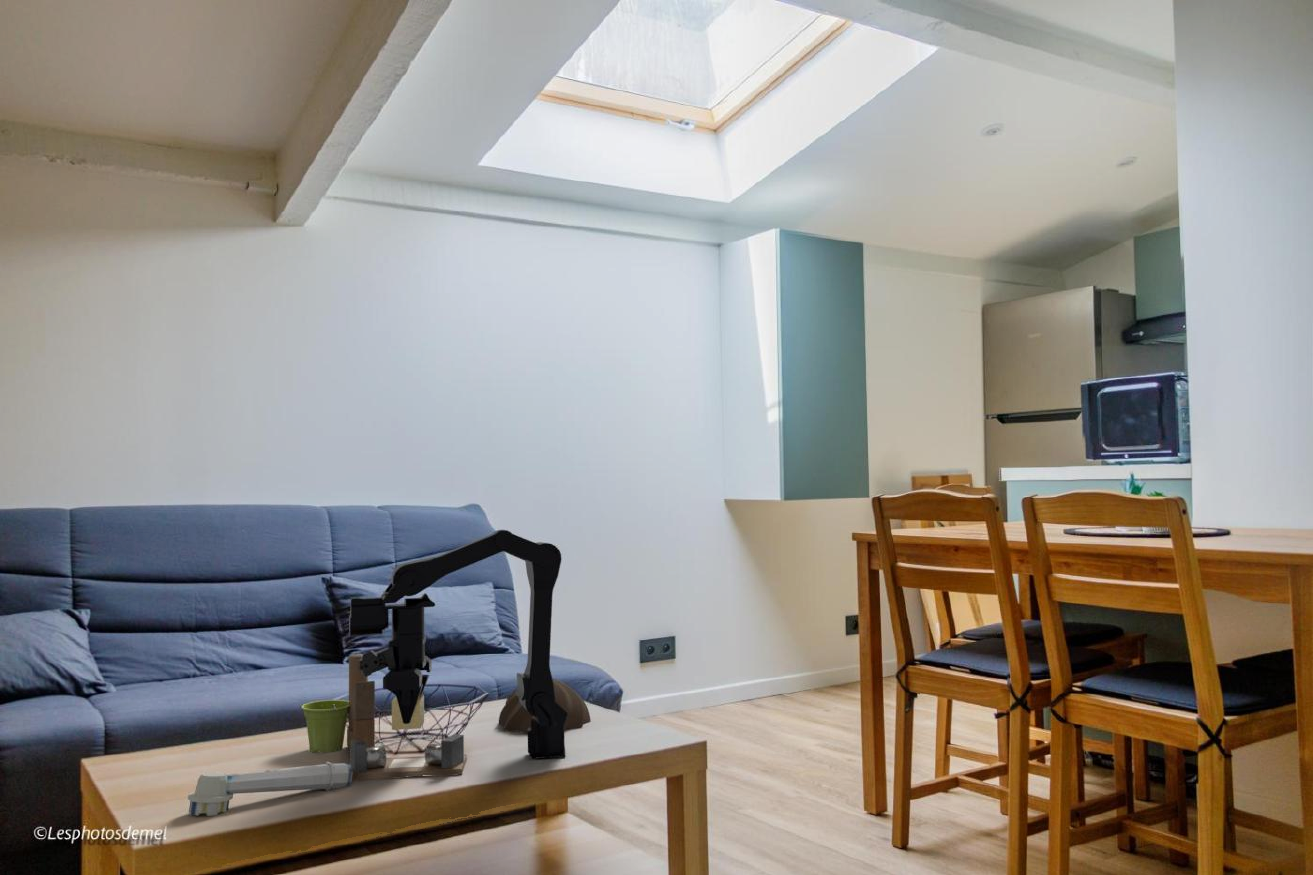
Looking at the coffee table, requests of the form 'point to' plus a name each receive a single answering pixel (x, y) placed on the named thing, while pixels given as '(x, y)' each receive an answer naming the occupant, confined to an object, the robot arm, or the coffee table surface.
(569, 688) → the decorative dome
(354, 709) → the wooden block
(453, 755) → the shaft
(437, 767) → the board
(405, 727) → the cream cube
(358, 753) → the shaft
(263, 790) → the toothbrush head
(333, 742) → the plant pot
